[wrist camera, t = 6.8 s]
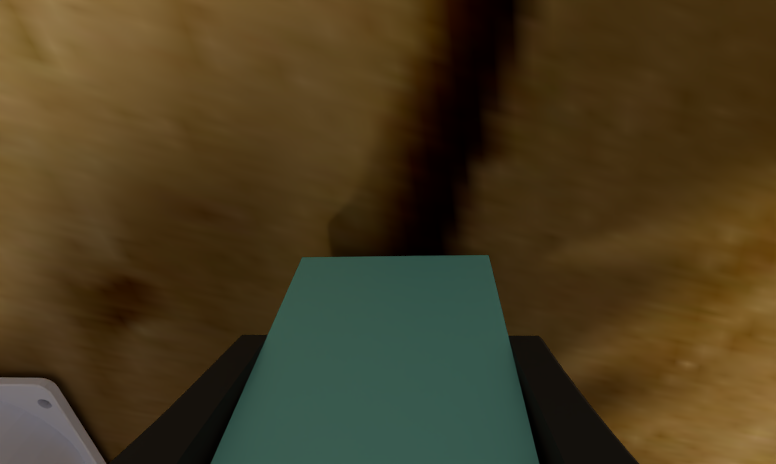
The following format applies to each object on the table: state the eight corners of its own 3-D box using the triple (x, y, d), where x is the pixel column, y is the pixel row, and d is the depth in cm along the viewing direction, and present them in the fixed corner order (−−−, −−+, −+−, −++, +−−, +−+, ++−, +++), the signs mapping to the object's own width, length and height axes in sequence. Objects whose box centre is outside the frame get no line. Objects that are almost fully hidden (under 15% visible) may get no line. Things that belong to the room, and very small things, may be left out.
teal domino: (484, 314, 12) (564, 738, 5) (312, 313, 13) (181, 704, 6) (488, 254, 11) (591, 680, 4) (302, 257, 12) (130, 646, 5)
